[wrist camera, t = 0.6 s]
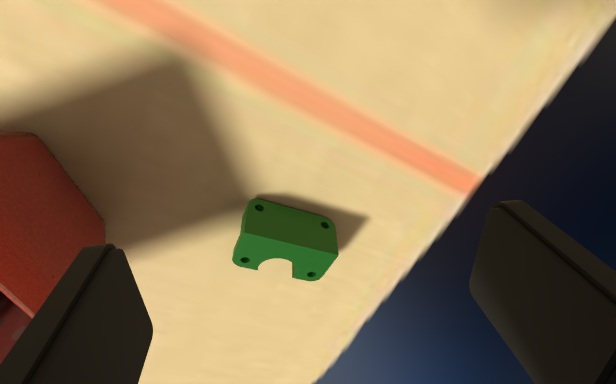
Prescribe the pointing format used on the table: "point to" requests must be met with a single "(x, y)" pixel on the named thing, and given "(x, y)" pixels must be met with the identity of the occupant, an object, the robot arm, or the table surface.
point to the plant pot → (36, 230)
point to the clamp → (286, 239)
